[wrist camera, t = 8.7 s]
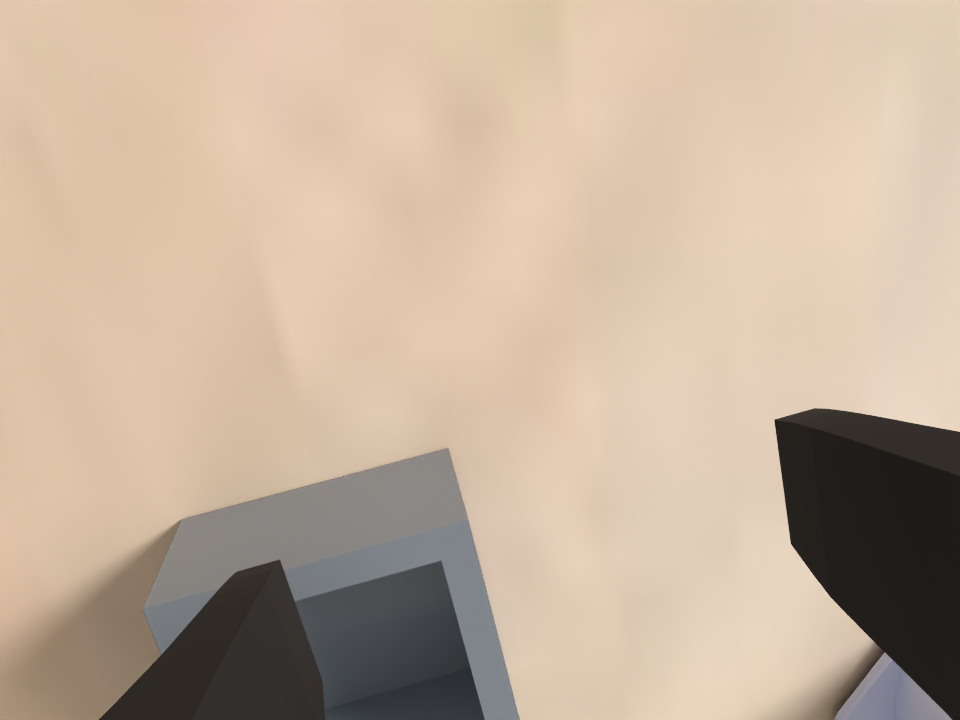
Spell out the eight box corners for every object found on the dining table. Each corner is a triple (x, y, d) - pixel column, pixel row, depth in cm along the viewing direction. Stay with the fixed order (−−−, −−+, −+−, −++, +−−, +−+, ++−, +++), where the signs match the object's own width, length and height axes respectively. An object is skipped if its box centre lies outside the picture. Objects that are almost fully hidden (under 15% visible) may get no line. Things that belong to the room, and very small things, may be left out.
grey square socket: (447, 448, 22) (468, 519, 18) (504, 667, 24) (533, 775, 20) (182, 519, 22) (142, 608, 18) (263, 737, 24) (244, 861, 20)
